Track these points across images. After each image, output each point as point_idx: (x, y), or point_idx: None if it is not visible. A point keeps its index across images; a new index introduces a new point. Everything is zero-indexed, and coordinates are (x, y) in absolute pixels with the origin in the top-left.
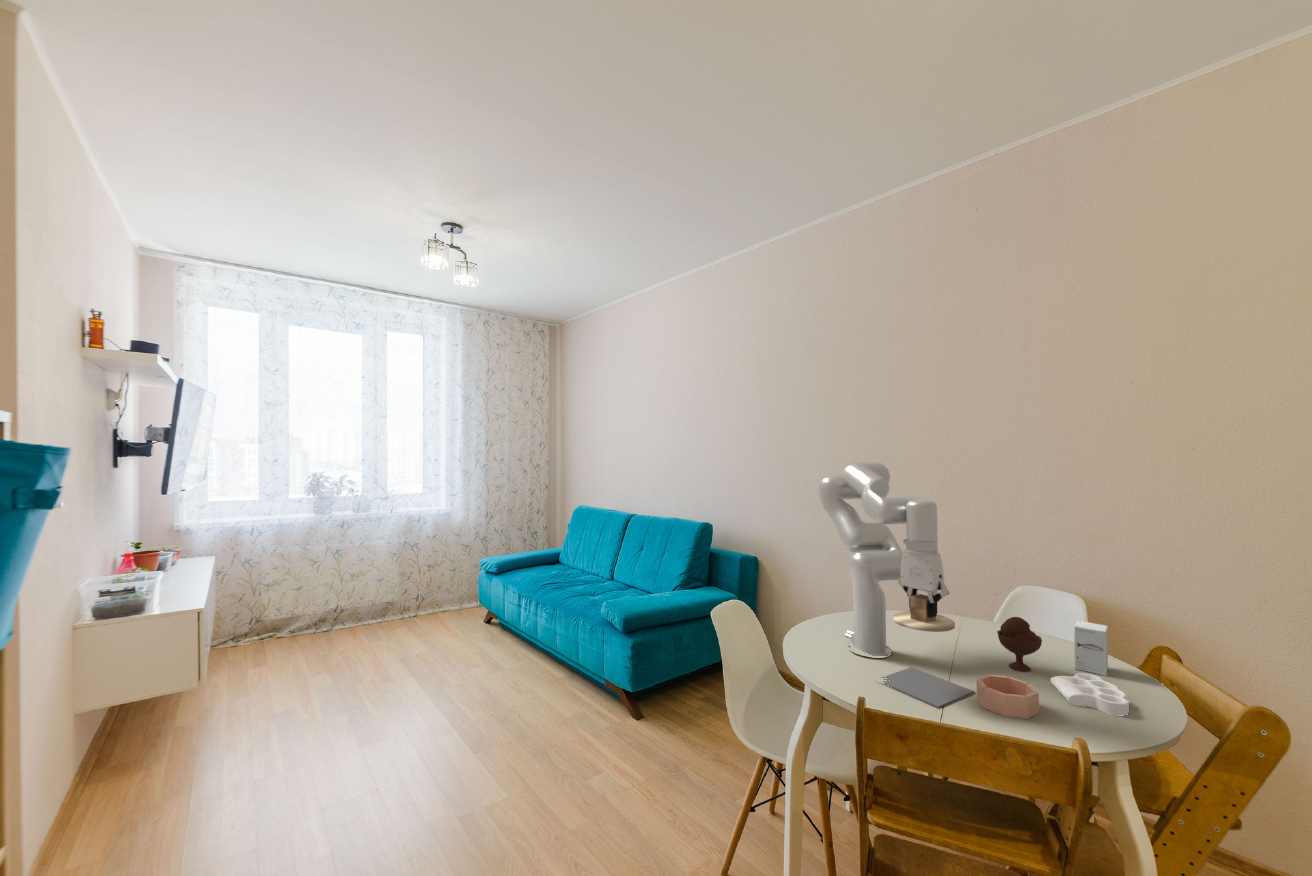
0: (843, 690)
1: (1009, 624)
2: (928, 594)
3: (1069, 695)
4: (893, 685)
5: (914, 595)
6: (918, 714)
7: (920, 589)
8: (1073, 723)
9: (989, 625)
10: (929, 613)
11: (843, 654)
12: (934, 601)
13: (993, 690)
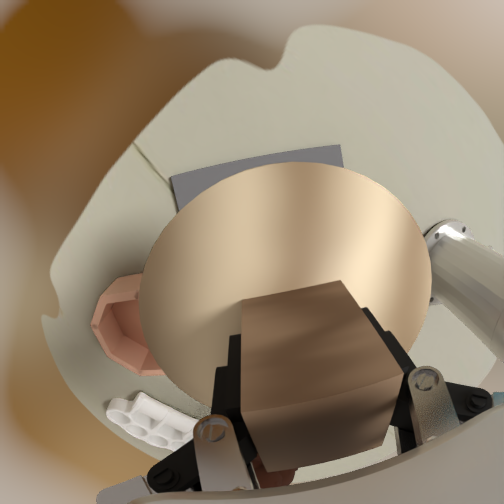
0: (322, 45)
1: (266, 480)
2: (238, 471)
3: (140, 399)
4: (296, 159)
5: (389, 408)
6: (166, 114)
7: (293, 490)
8: (92, 345)
9: (372, 459)
10: (229, 351)
11: (458, 197)
12: (200, 436)
13: (120, 296)
